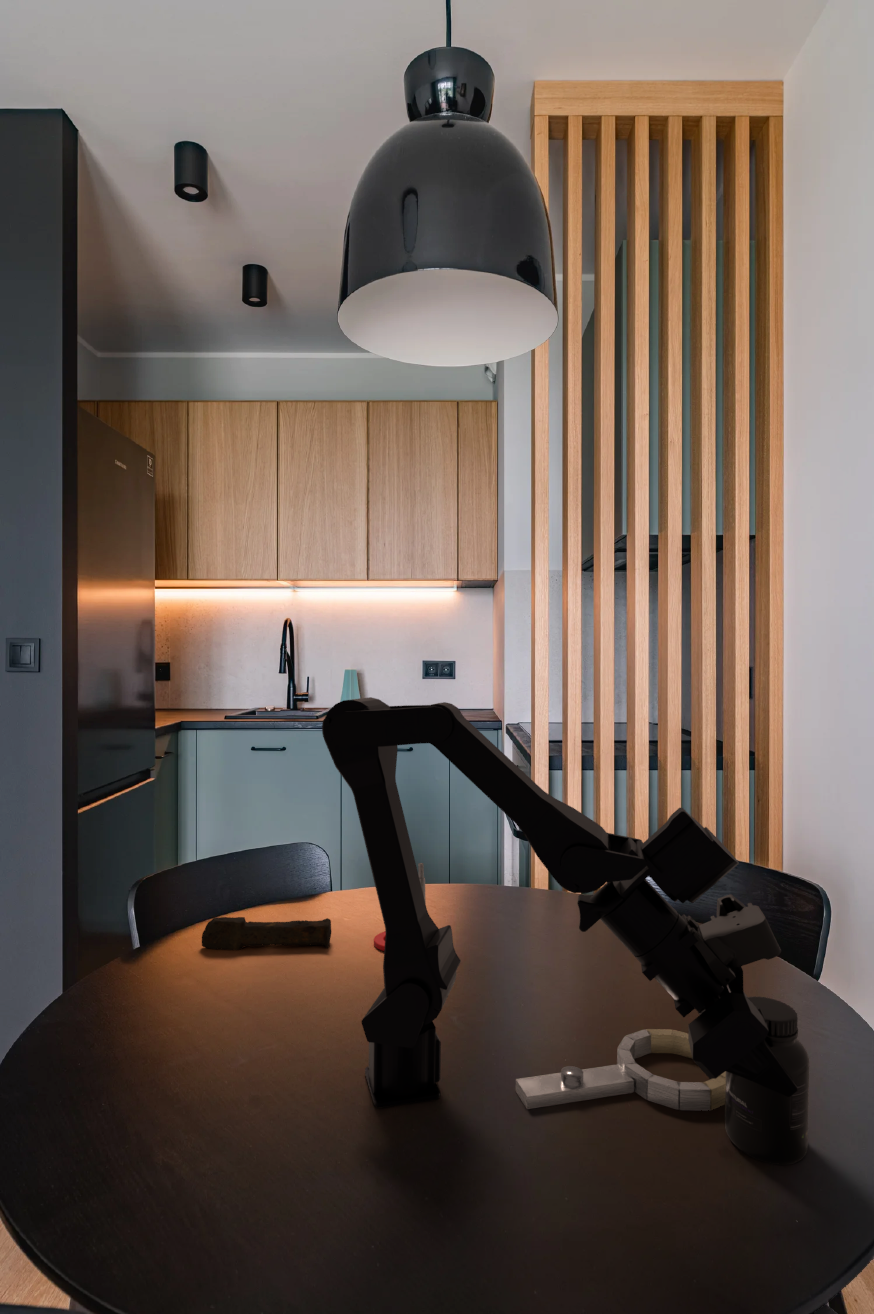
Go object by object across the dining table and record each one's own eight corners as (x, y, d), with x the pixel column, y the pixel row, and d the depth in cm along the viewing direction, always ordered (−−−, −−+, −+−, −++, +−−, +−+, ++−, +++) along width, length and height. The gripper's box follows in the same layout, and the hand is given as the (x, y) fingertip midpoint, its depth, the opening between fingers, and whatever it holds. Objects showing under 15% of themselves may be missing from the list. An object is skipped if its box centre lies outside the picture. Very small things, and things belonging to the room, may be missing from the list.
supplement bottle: (712, 1142, 64) (713, 1007, 65) (740, 1108, 69) (741, 983, 70) (794, 1180, 60) (795, 1035, 60) (818, 1141, 65) (819, 1007, 65)
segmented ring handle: (545, 1138, 65) (545, 1116, 65) (500, 1067, 76) (500, 1048, 76) (713, 1110, 69) (713, 1089, 69) (647, 1047, 80) (647, 1029, 80)
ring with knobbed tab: (708, 1111, 69) (708, 1090, 69) (643, 1047, 80) (643, 1029, 80) (821, 1092, 72) (821, 1072, 72) (743, 1033, 84) (743, 1016, 84)
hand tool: (332, 941, 111) (332, 910, 111) (329, 951, 107) (330, 919, 107) (206, 943, 110) (207, 912, 110) (199, 953, 106) (200, 921, 106)
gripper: (739, 911, 57) (896, 1072, 54) (707, 852, 75) (823, 970, 72) (634, 1000, 58) (781, 1160, 56) (628, 921, 76) (738, 1039, 74)
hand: (783, 1070), depth 64 cm, fingers closed on supplement bottle, 7 cm apart
